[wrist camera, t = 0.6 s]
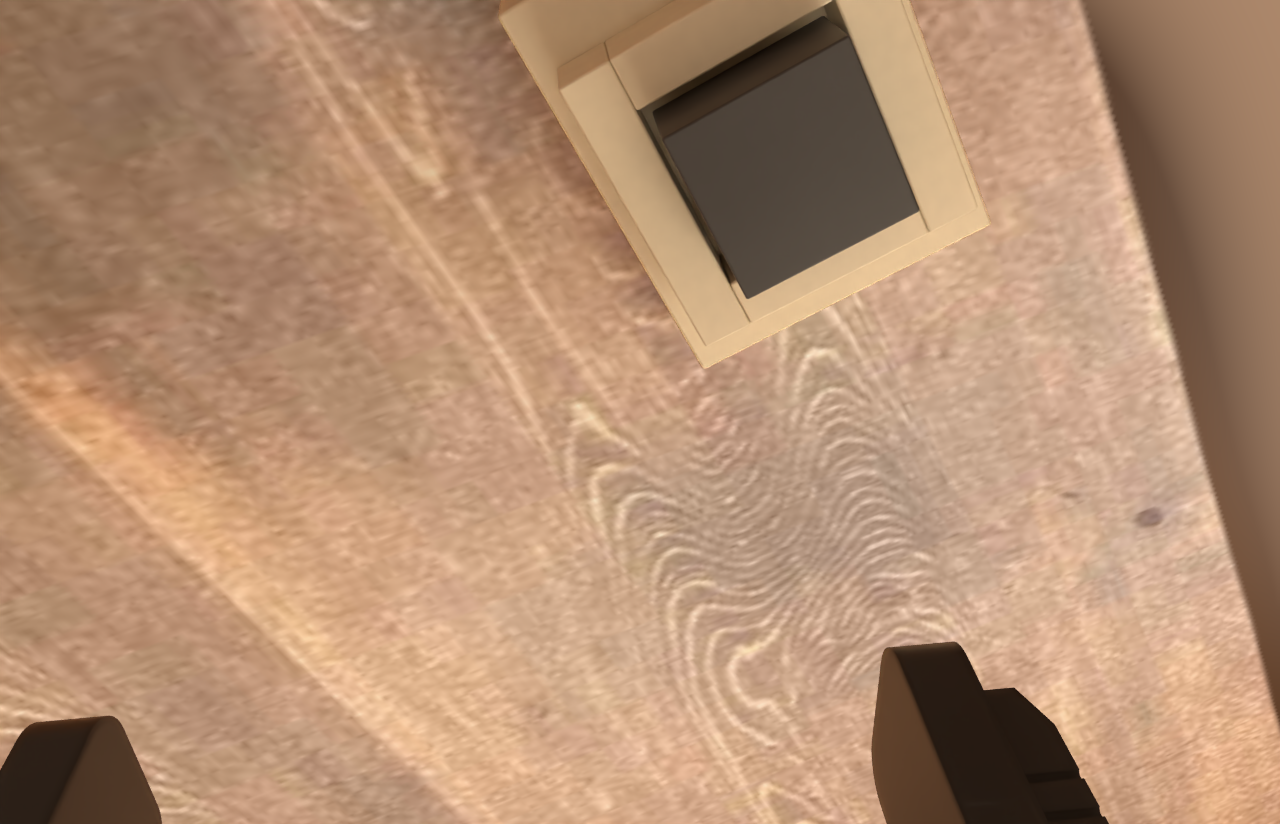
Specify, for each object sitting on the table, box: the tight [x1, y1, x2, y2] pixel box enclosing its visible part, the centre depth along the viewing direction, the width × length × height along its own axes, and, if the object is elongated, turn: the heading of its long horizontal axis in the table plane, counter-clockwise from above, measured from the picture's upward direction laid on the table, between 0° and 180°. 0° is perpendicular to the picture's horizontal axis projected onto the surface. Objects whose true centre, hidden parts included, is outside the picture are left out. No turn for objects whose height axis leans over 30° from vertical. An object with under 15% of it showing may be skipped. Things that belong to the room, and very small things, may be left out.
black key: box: [653, 16, 919, 299], centre depth 21 cm, size 4×4×2 cm
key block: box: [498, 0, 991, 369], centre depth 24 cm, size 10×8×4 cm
